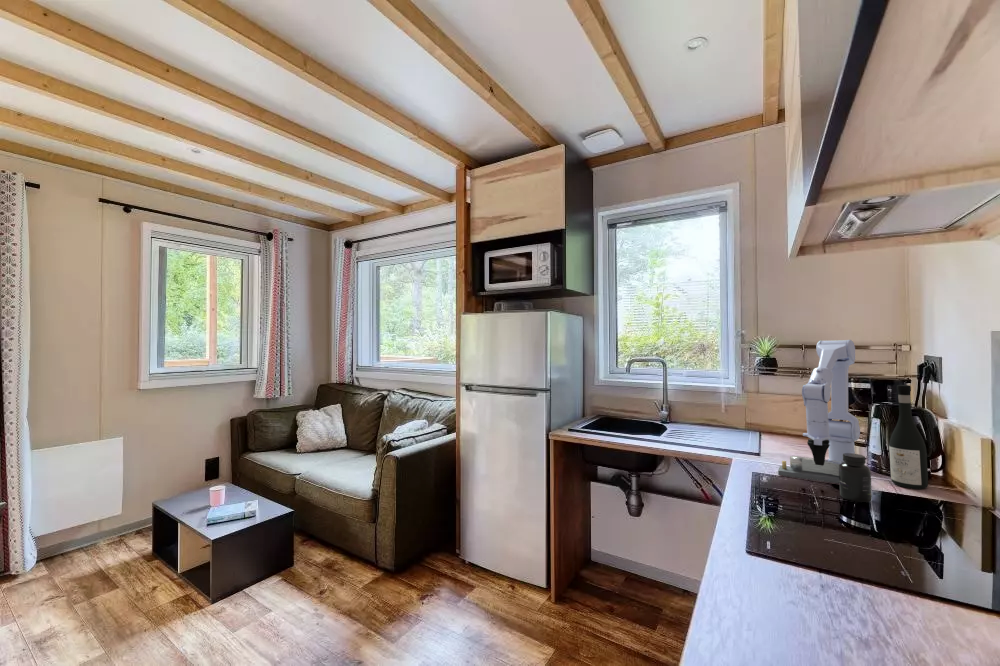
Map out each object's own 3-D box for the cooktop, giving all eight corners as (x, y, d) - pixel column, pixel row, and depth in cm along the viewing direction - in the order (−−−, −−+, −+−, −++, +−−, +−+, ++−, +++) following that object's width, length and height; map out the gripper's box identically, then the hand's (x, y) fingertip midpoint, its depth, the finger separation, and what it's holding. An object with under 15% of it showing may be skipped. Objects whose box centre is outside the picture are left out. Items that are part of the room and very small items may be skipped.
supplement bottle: (834, 496, 119) (832, 453, 120) (848, 492, 122) (846, 450, 122) (864, 504, 113) (861, 459, 113) (877, 500, 116) (875, 456, 116)
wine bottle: (919, 491, 121) (912, 386, 123) (885, 483, 129) (880, 385, 130) (934, 487, 124) (928, 385, 126) (900, 480, 132) (895, 383, 133)
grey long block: (790, 465, 142) (790, 455, 143) (850, 473, 133) (850, 462, 133) (789, 469, 139) (789, 458, 139) (851, 477, 129) (851, 465, 129)
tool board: (780, 470, 145) (779, 458, 145) (864, 481, 132) (863, 468, 132) (778, 475, 140) (777, 462, 140) (866, 487, 126) (865, 473, 126)
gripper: (803, 416, 145) (805, 457, 144) (801, 423, 133) (803, 467, 133) (829, 418, 140) (831, 459, 140) (829, 425, 129) (831, 470, 128)
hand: (819, 463), depth 136 cm, fingers closed on grey long block, 3 cm apart
